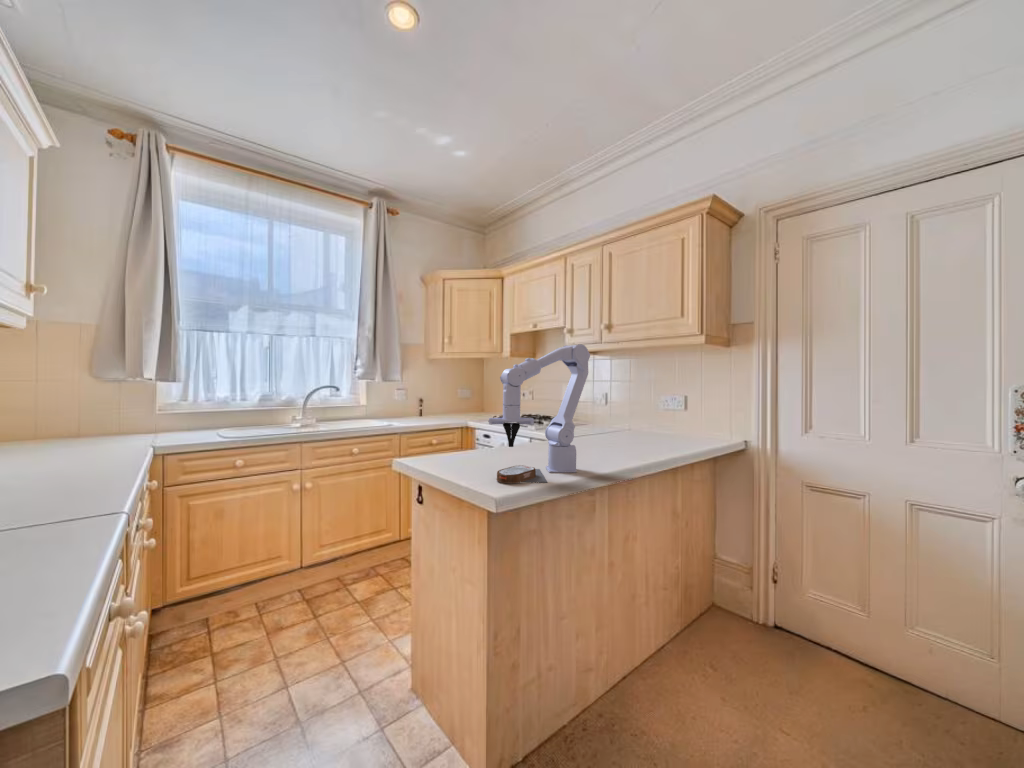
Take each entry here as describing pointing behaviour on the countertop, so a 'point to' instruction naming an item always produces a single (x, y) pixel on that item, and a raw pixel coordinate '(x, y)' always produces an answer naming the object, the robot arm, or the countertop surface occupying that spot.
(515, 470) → the tin
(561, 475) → the countertop surface
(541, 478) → the mat
